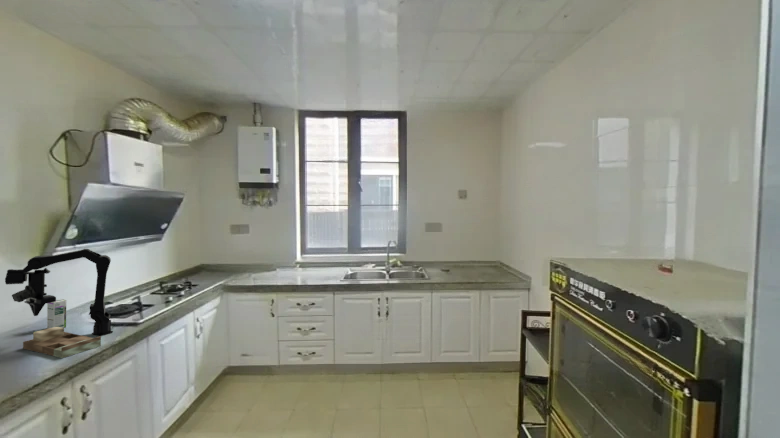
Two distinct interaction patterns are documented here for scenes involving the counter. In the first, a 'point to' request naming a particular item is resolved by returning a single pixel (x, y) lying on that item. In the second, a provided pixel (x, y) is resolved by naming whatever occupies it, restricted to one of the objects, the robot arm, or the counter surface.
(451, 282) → the counter surface
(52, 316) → the syrup box
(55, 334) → the maple slab
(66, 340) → the trap deck
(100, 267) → the robot arm
